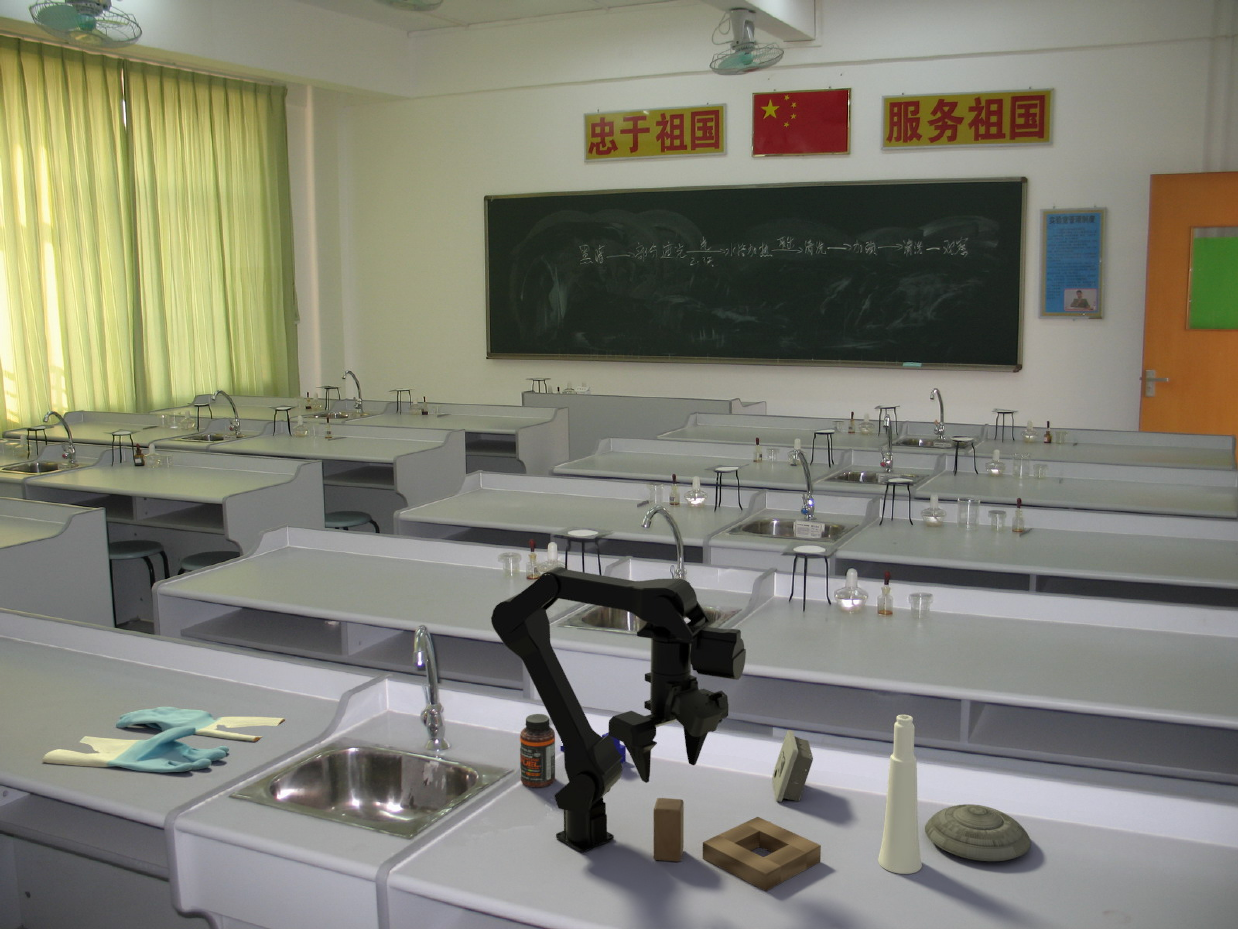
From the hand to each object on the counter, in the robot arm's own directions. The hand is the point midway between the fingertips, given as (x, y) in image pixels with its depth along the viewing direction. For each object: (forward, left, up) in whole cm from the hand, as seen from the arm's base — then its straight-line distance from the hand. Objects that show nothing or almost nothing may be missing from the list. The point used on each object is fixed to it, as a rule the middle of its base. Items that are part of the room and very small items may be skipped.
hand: (669, 773), depth 153 cm
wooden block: (0, 0, -13) cm, 13 cm away
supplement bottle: (-33, +1, -13) cm, 36 cm away
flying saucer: (+28, +37, -13) cm, 48 cm away
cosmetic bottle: (+24, +23, -13) cm, 36 cm away
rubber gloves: (-94, -39, -14) cm, 103 cm away
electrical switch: (-2, +30, -13) cm, 33 cm away
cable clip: (-35, +15, -13) cm, 41 cm away
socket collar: (+10, +9, -13) cm, 19 cm away
